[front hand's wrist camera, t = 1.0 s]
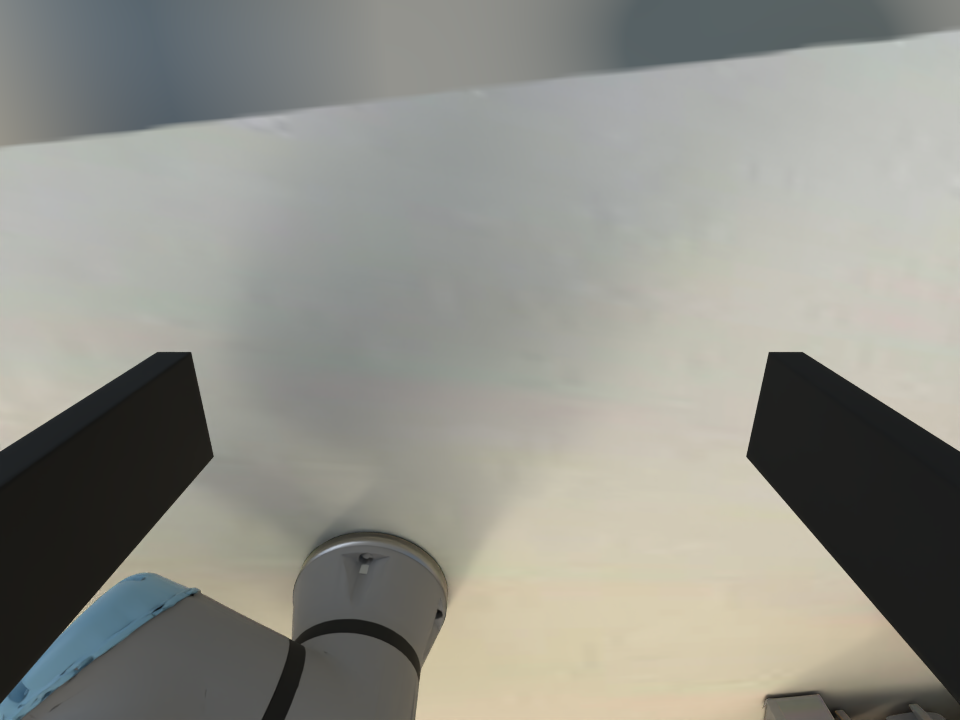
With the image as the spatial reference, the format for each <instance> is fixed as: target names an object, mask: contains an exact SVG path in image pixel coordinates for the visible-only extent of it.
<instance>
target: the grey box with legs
mask: <svg viewBox="0 0 960 720" xmlns="http://www.w3.org/2000/svg"><path fill="white" fill-rule="evenodd" d="M766 705H767V708H766V715H765V720H835V719H834V718H833V716H832V714H831V713H830V711H829V709H828V708H827V706H826V704H825V703H824V701H823V699H822V698H821V696H820V694H815V695H805V696H795V697H785V698H775V699H773V698H768V699H766V701H765V703H764V705H763V708H764V707H765V706H766ZM908 706H909V707H910V709H911V710H912V712H909V713H903V714H897V715H891V716H887V717H886V720H945V718H944V717H943V716H941V715H940V714H938V713H933V712H925V711H924V710H923V709H922V708H921V707H920V706H919V705H918V704H917V703H916V704H910V705H908ZM763 708H762V709H763ZM834 712H835V713H836V715H837V717H838V719H839V720H851V719H850V717H849V716H848V715H847V714H846V713H845V712H844V710H836V711H834Z"/></svg>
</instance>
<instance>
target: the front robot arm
mask: <svg viewBox="0 0 960 720" xmlns="http://www.w3.org/2000/svg"><path fill="white" fill-rule="evenodd" d="M213 457H214V456H213V451H212V446H211V442H210V437H209V433H208V428H207V423H206V419H205V414H204V410H203V405H202V400H201V396H200V391H199V386H198V382H197V377H196V373H195V368H194V363H193V359H192V354H191V352H157V353H155V354H154V355H152V356H150V357H149V358H147V359H146V360H144V361H143V362H141V363H139V364H138V365H136V366H135V367H133V368H132V369H130V370H128V371H127V372H125V373H124V374H122V375H120V376H119V377H117V378H116V379H114V380H113V381H111V382H109V383H108V384H106V385H105V386H103V387H102V388H100V389H98V390H97V391H95V392H94V393H92V394H90V395H89V396H87V397H86V398H84V399H83V400H81V401H79V402H78V403H76V404H75V405H73V406H72V407H70V408H68V409H67V410H65V411H64V412H62V413H60V414H59V415H57V416H56V417H54V418H53V419H51V420H49V421H48V422H46V423H45V424H43V425H42V426H40V427H38V428H37V429H35V430H34V431H32V432H30V433H29V434H27V435H26V436H24V437H23V438H21V439H19V440H18V441H16V442H15V443H13V444H12V445H10V446H8V447H7V448H5V449H4V450H2V451H0V720H415V715H416V706H417V698H418V688H419V680H420V672H421V668H422V666H423V664H424V662H425V660H426V658H427V656H428V654H429V652H430V650H431V648H432V646H433V644H434V642H435V639H436V637H437V635H438V633H439V631H440V629H441V627H442V625H443V623H444V620H445V616H446V609H447V597H448V590H447V583H446V580H445V577H444V575H443V573H442V571H441V569H440V567H439V566H438V565H437V563H436V562H435V561H434V560H433V559H432V558H431V557H430V556H429V555H428V554H427V553H426V552H425V551H423V550H422V549H421V548H419V547H418V546H416V545H414V544H412V543H410V542H408V541H406V540H404V539H401V538H398V537H395V536H392V535H388V534H382V533H373V532H360V533H351V534H346V535H342V536H339V537H336V538H333V539H331V540H329V541H327V542H325V543H323V544H322V545H320V546H319V547H318V548H316V549H315V550H314V551H313V552H312V553H311V554H310V555H309V556H308V558H307V559H306V561H305V562H304V564H303V566H302V568H301V571H300V573H299V575H298V578H297V580H296V583H295V585H294V590H293V623H292V640H291V639H289V638H287V637H286V636H284V635H282V634H280V633H278V632H276V631H274V630H272V629H270V628H268V627H265V626H263V625H261V624H259V623H257V622H255V621H253V620H251V619H249V618H247V617H246V616H244V615H242V614H240V613H238V612H236V611H234V610H232V609H230V608H228V607H226V606H225V605H223V604H221V603H219V602H217V601H215V600H213V599H211V598H209V597H207V596H205V595H203V594H202V593H201V591H200V590H199V589H197V588H188V587H185V586H183V585H180V584H178V583H176V582H173V581H171V580H169V579H167V578H164V577H162V576H160V575H157V574H154V573H139V574H135V575H132V576H130V577H127V578H125V579H124V580H122V581H120V582H119V583H117V584H116V585H115V586H113V587H112V588H111V589H109V590H108V591H107V592H106V593H105V594H103V595H102V596H101V597H100V598H99V599H98V600H96V601H95V602H94V603H93V604H92V605H91V606H90V607H89V608H88V609H87V610H86V611H85V612H83V613H82V614H81V615H80V616H79V617H78V618H77V619H76V620H75V621H74V622H73V623H72V624H71V625H70V626H69V627H68V628H67V629H66V627H67V626H68V625H69V624H70V623H71V622H72V620H73V619H74V618H75V617H76V616H77V615H78V613H79V612H80V611H81V610H82V609H83V608H84V606H85V605H86V604H87V603H88V602H89V601H90V600H91V598H92V597H93V596H94V595H95V594H96V593H97V591H98V590H99V589H100V588H101V587H102V586H103V584H104V583H105V582H106V581H107V580H108V579H109V577H110V576H111V575H112V574H113V573H114V572H115V571H116V569H117V568H118V567H119V566H120V565H121V564H122V562H123V561H124V560H125V559H126V558H127V557H128V555H129V554H130V553H131V552H132V551H133V550H134V548H135V547H136V546H137V545H138V544H139V543H140V542H141V540H142V539H143V538H144V537H145V536H146V535H147V533H148V532H149V531H150V530H151V529H152V528H153V526H154V525H155V524H156V523H157V522H158V521H159V520H160V518H161V517H162V516H163V515H164V514H165V513H166V511H167V510H168V509H169V508H170V507H171V506H172V504H173V503H174V502H175V501H176V500H177V499H178V497H179V496H180V495H181V494H182V493H183V492H184V491H185V489H186V488H187V487H188V486H189V485H190V484H191V482H192V481H193V480H194V479H195V478H196V477H197V475H198V474H199V473H200V472H201V471H202V470H203V468H204V467H205V466H206V465H207V464H208V463H209V462H210V460H211V459H212V458H213ZM746 457H747V458H748V459H749V460H750V462H751V463H752V464H753V465H754V466H755V467H756V468H757V470H758V471H759V472H760V473H761V474H762V475H763V477H764V478H765V479H766V480H767V481H768V482H769V484H770V485H771V486H772V487H773V488H774V489H775V491H776V492H777V493H778V494H779V495H780V496H781V497H782V499H783V500H784V501H785V502H786V503H787V504H788V506H789V507H790V508H791V509H792V510H793V511H794V513H795V514H796V515H797V516H798V517H799V518H800V520H801V521H802V522H803V523H804V524H805V525H806V526H807V528H808V529H809V530H810V531H811V532H812V533H813V535H814V536H815V537H816V538H817V539H818V540H819V542H820V543H821V544H822V545H823V546H824V547H825V549H826V550H827V551H828V552H829V553H830V554H831V555H832V557H833V558H834V559H835V560H836V561H837V562H838V564H839V565H840V566H841V567H842V568H843V569H844V571H845V572H846V573H847V574H848V575H849V576H850V577H851V579H852V580H853V581H854V582H855V583H856V584H857V586H858V587H859V588H860V589H861V590H862V591H863V593H864V594H865V595H866V596H867V597H868V598H869V600H870V601H871V602H872V603H873V604H874V605H875V606H876V608H877V609H878V610H879V611H880V612H881V613H882V615H883V616H884V617H885V618H886V619H887V620H888V622H889V623H890V624H891V625H892V626H893V627H894V629H895V630H896V631H897V632H898V633H899V634H900V635H901V637H902V638H903V639H904V640H905V641H906V642H907V644H908V645H909V646H910V647H911V648H912V649H913V651H914V652H915V653H916V654H917V655H918V656H919V658H920V659H921V660H922V661H923V662H924V663H925V664H926V666H927V667H928V668H929V669H930V670H931V671H932V673H933V674H934V675H935V676H936V677H937V678H938V680H939V681H940V682H941V683H942V684H943V685H944V687H945V688H946V689H947V690H948V691H949V692H950V693H951V695H952V696H953V697H954V698H955V699H956V700H957V702H958V703H959V704H960V451H958V450H956V449H955V448H953V447H952V446H950V445H948V444H947V443H945V442H944V441H942V440H941V439H939V438H937V437H936V436H934V435H933V434H931V433H930V432H928V431H926V430H925V429H923V428H922V427H920V426H918V425H917V424H915V423H914V422H912V421H911V420H909V419H907V418H906V417H904V416H903V415H901V414H900V413H898V412H896V411H895V410H893V409H892V408H890V407H888V406H887V405H885V404H884V403H882V402H881V401H879V400H877V399H876V398H874V397H873V396H871V395H870V394H868V393H866V392H865V391H863V390H862V389H860V388H858V387H857V386H855V385H854V384H852V383H851V382H849V381H847V380H846V379H844V378H843V377H841V376H840V375H838V374H836V373H835V372H833V371H832V370H830V369H828V368H827V367H825V366H824V365H822V364H821V363H819V362H817V361H816V360H814V359H813V358H811V357H810V356H808V355H806V354H805V353H803V352H769V354H768V359H767V363H766V368H765V373H764V377H763V382H762V386H761V391H760V396H759V400H758V405H757V409H756V414H755V419H754V423H753V428H752V433H751V437H750V442H749V446H748V451H747V456H746ZM65 629H66V630H65ZM64 630H65V631H64ZM63 631H64V632H63ZM62 632H63V633H62ZM61 633H62V634H61ZM60 634H61V635H60ZM59 635H60V636H59Z"/></svg>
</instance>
